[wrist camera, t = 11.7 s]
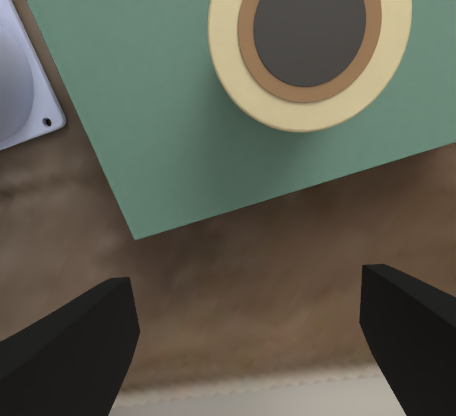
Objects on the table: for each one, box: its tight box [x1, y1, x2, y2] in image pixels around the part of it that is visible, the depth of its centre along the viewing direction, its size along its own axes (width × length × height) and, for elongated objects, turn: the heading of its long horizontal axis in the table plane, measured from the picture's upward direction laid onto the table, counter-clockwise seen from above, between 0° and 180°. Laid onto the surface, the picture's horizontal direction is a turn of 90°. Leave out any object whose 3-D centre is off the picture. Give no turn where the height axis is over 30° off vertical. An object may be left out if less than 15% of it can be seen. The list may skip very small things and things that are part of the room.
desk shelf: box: [26, 0, 456, 240], centre depth 15 cm, size 18×11×5 cm, turn 109°
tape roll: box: [207, 0, 412, 132], centre depth 10 cm, size 5×5×5 cm
